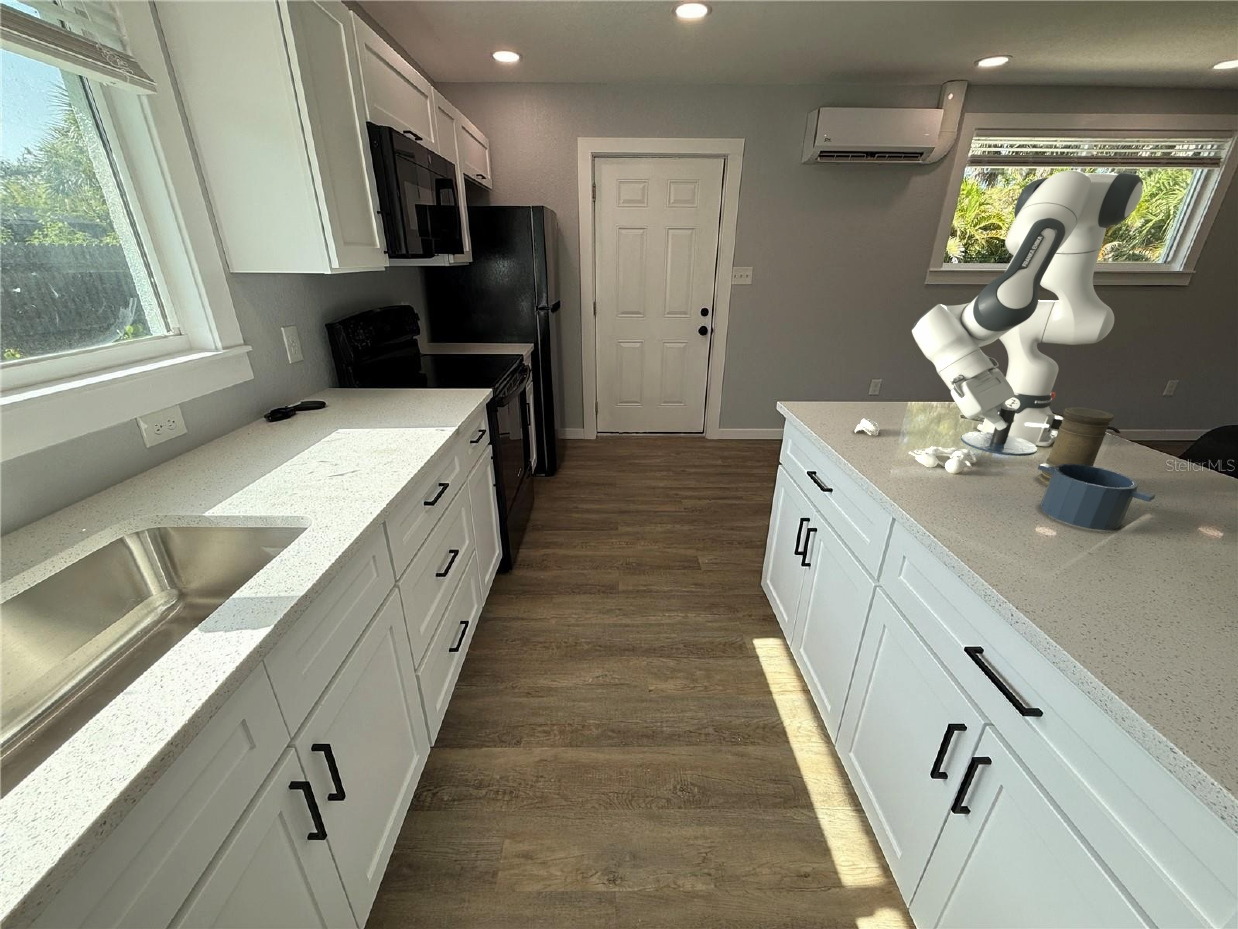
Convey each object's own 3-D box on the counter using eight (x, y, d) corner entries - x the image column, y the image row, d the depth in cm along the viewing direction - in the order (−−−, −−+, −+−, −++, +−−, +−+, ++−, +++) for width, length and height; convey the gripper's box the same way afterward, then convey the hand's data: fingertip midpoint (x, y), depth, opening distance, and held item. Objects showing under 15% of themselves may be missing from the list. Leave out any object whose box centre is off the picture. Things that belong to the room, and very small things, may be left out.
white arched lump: (856, 430, 156) (857, 415, 155) (879, 432, 153) (881, 416, 151) (853, 436, 150) (854, 420, 148) (878, 437, 146) (879, 421, 145)
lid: (980, 432, 114) (991, 396, 111) (1048, 450, 103) (1062, 411, 100) (947, 442, 108) (957, 405, 105) (1015, 463, 98) (1029, 422, 94)
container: (1096, 494, 112) (1127, 419, 105) (1051, 491, 113) (1079, 416, 106) (1071, 478, 120) (1098, 407, 113) (1029, 475, 121) (1054, 405, 114)
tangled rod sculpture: (927, 449, 141) (929, 436, 140) (987, 460, 130) (990, 445, 129) (899, 465, 129) (902, 450, 128) (963, 478, 119) (966, 462, 117)
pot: (1041, 493, 112) (1056, 455, 108) (1147, 528, 98) (1167, 485, 94) (1014, 506, 107) (1028, 466, 103) (1121, 544, 92) (1141, 500, 89)
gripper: (963, 371, 98) (1006, 429, 95) (997, 357, 110) (1037, 409, 107) (933, 388, 103) (974, 444, 100) (969, 374, 115) (1006, 423, 112)
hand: (1007, 426), depth 104 cm, fingers closed on lid, 2 cm apart
